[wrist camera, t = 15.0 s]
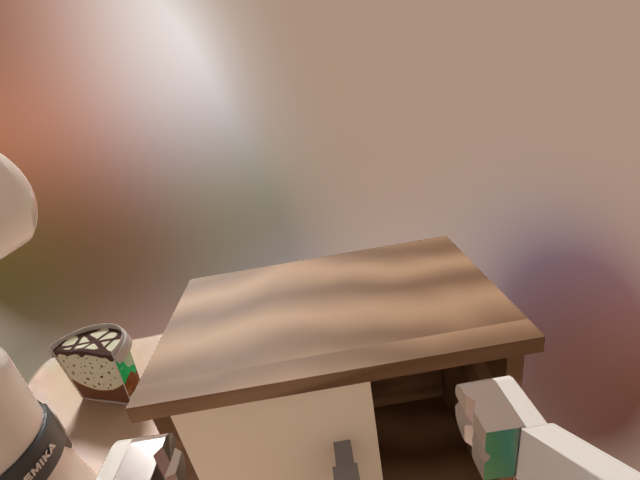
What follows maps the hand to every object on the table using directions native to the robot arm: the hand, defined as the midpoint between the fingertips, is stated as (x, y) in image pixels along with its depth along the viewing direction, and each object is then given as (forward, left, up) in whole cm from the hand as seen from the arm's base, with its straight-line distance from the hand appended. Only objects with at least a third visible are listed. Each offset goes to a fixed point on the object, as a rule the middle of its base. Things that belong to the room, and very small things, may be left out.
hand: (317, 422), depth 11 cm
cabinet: (+16, +9, -30) cm, 35 cm away
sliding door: (+6, +8, -28) cm, 30 cm away
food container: (+16, +47, -30) cm, 58 cm away
